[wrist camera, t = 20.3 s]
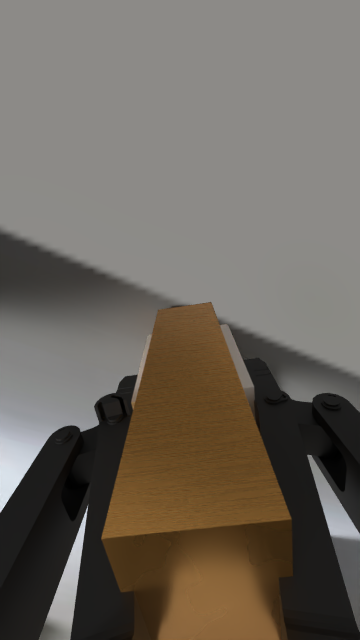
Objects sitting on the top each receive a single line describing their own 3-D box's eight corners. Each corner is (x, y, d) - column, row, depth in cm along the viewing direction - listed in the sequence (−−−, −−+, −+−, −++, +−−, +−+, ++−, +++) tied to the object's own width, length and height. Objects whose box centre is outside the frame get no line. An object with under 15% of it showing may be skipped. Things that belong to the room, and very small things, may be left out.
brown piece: (139, 312, 18) (36, 545, 5) (230, 299, 18) (362, 511, 5) (192, 560, 27) (202, 886, 14) (254, 554, 27) (326, 882, 13)
